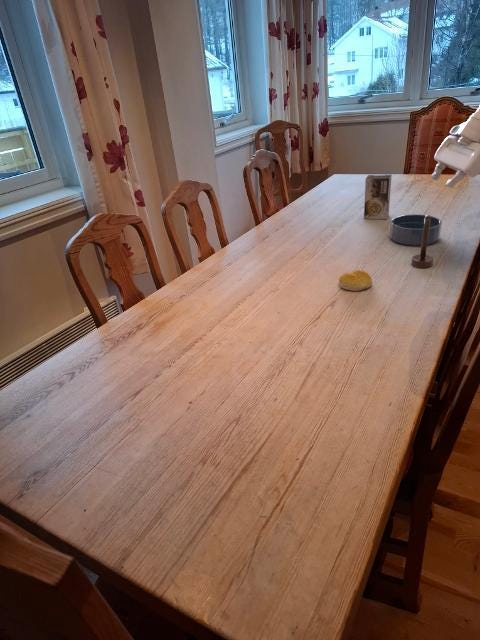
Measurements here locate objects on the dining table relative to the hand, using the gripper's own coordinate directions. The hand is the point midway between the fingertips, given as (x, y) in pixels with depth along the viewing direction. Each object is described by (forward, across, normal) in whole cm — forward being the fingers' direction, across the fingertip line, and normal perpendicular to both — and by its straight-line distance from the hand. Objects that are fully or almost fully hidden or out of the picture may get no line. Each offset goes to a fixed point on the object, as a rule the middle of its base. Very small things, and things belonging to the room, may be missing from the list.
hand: (440, 182), depth 121 cm
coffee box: (+21, +46, -12) cm, 52 cm away
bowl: (+18, +19, -16) cm, 30 cm away
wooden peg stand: (+21, -3, -10) cm, 24 cm away
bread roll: (+34, -12, +9) cm, 38 cm away
